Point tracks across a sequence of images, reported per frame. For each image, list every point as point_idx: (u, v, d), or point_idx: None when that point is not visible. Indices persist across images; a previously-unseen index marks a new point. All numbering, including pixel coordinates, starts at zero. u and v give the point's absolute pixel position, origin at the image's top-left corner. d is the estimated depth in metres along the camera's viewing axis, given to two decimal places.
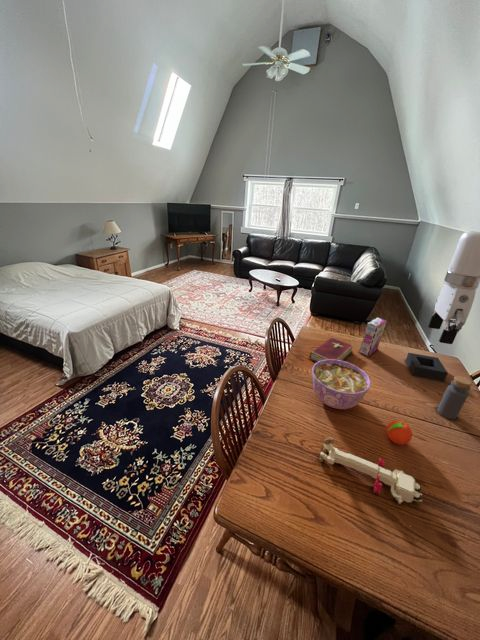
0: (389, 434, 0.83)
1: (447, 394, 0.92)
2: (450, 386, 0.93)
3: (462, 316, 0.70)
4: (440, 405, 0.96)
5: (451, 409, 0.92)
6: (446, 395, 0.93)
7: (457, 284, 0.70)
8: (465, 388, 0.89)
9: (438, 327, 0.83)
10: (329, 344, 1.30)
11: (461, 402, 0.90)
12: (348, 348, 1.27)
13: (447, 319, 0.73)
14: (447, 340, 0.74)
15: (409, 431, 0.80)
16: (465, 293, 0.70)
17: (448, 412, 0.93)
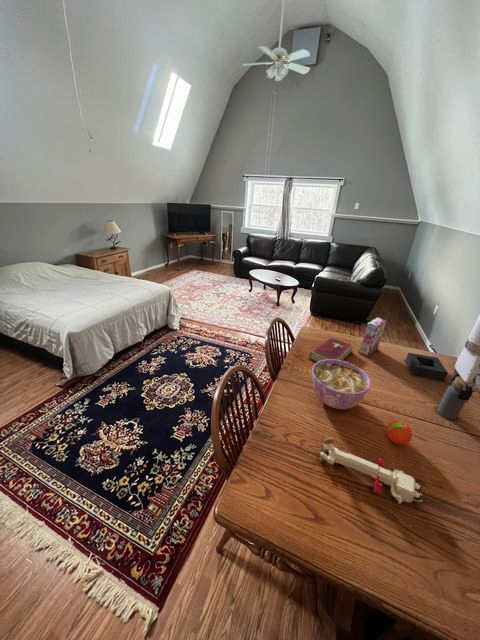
0: (389, 434, 0.83)
1: (448, 395, 0.92)
2: (451, 387, 0.92)
3: (479, 383, 0.82)
4: (440, 405, 0.95)
5: (451, 409, 0.92)
6: (447, 396, 0.93)
7: (477, 353, 0.82)
8: None
9: None
10: (329, 344, 1.30)
11: (461, 403, 0.90)
12: (348, 348, 1.27)
13: (467, 381, 0.85)
14: (464, 398, 0.87)
15: (409, 431, 0.80)
16: None
17: (448, 412, 0.93)
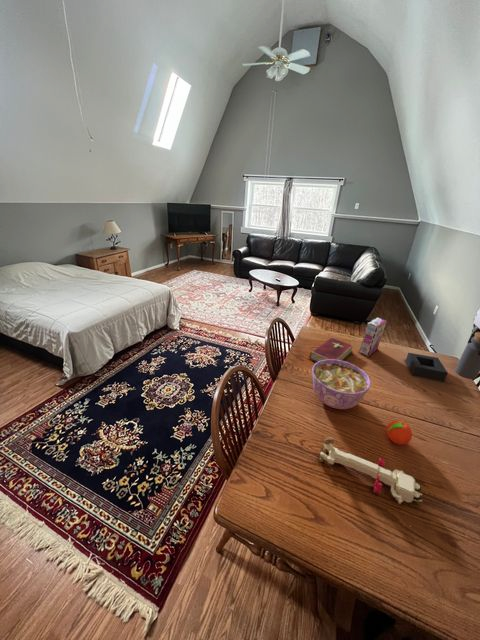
0: (389, 434, 0.83)
1: (467, 352, 0.86)
2: (470, 344, 0.86)
3: None
4: (458, 365, 0.89)
5: (471, 368, 0.86)
6: (466, 354, 0.86)
7: None
8: None
9: None
10: (329, 344, 1.30)
11: None
12: (348, 348, 1.27)
13: None
14: None
15: (409, 431, 0.80)
16: None
17: (468, 372, 0.87)
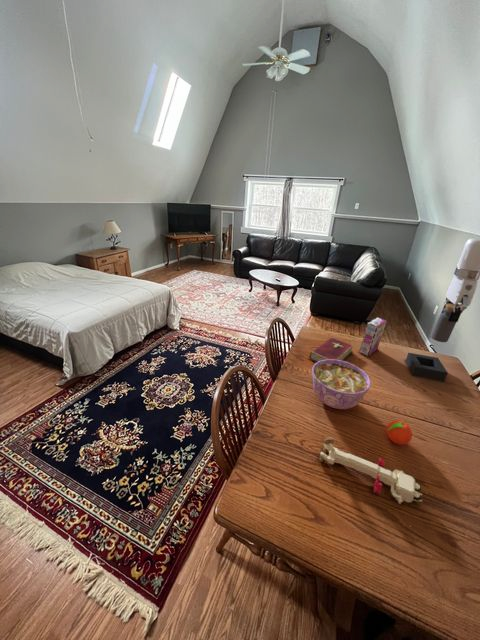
0: (389, 434, 0.83)
1: (440, 320, 1.07)
2: (442, 313, 1.07)
3: (466, 302, 0.97)
4: (434, 331, 1.10)
5: (443, 332, 1.07)
6: (439, 321, 1.07)
7: (464, 277, 0.96)
8: None
9: None
10: (329, 344, 1.30)
11: (451, 325, 1.05)
12: (348, 348, 1.27)
13: (456, 303, 0.99)
14: (453, 319, 1.02)
15: (409, 431, 0.80)
16: (469, 283, 0.96)
17: (440, 336, 1.08)
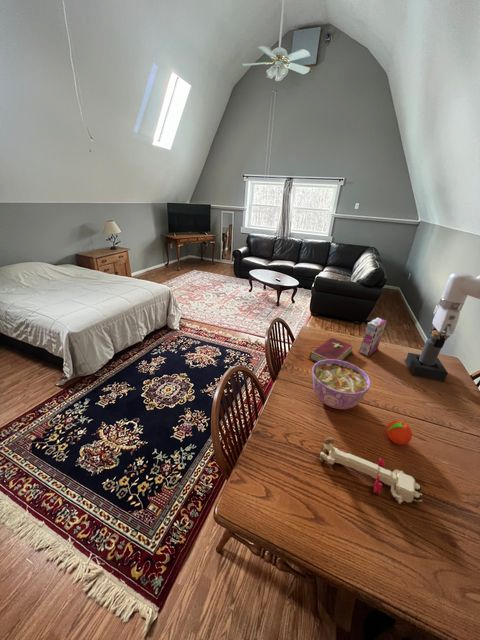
0: (389, 434, 0.83)
1: (426, 345, 1.15)
2: (429, 339, 1.15)
3: (449, 331, 1.05)
4: (421, 355, 1.18)
5: (429, 357, 1.15)
6: (426, 346, 1.15)
7: (447, 308, 1.04)
8: None
9: None
10: (329, 344, 1.30)
11: (437, 350, 1.13)
12: (348, 348, 1.27)
13: (441, 331, 1.07)
14: (438, 345, 1.10)
15: (409, 431, 0.80)
16: (452, 314, 1.04)
17: (427, 360, 1.16)
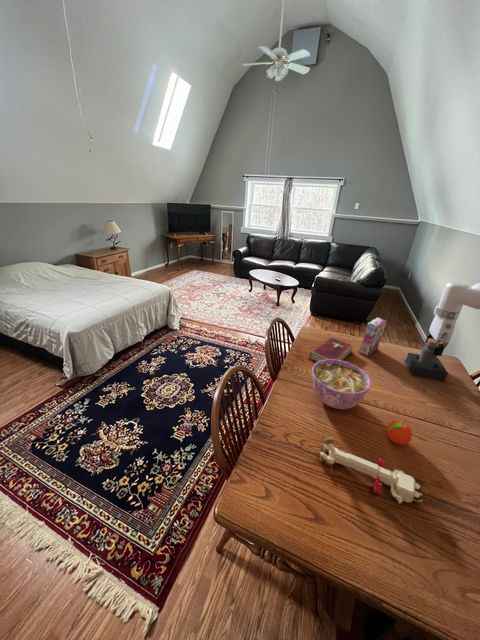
0: (389, 434, 0.83)
1: (423, 353, 1.17)
2: (425, 347, 1.17)
3: (447, 338, 1.05)
4: None
5: (426, 365, 1.17)
6: (422, 354, 1.17)
7: (443, 316, 1.06)
8: None
9: None
10: (329, 344, 1.30)
11: (433, 358, 1.15)
12: (348, 348, 1.27)
13: (437, 339, 1.09)
14: (437, 353, 1.10)
15: (409, 431, 0.80)
16: (449, 323, 1.05)
17: None
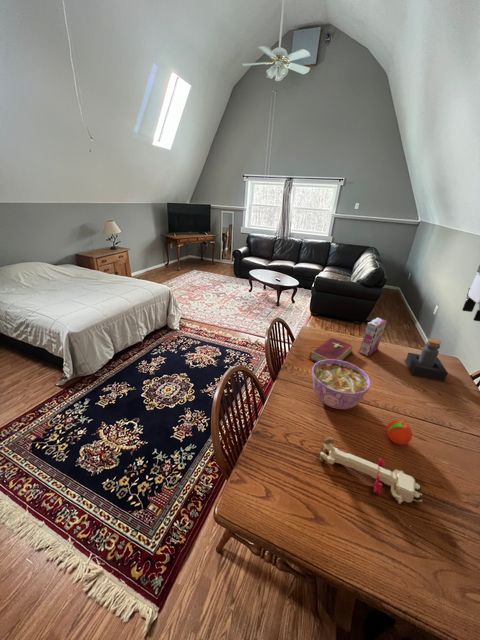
0: (389, 434, 0.83)
1: (423, 353, 1.17)
2: (425, 346, 1.17)
3: None
4: None
5: (426, 364, 1.17)
6: (422, 354, 1.17)
7: None
8: (436, 346, 1.13)
9: (471, 310, 1.04)
10: (329, 344, 1.30)
11: (433, 358, 1.15)
12: (348, 348, 1.27)
13: None
14: None
15: (409, 431, 0.80)
16: None
17: None
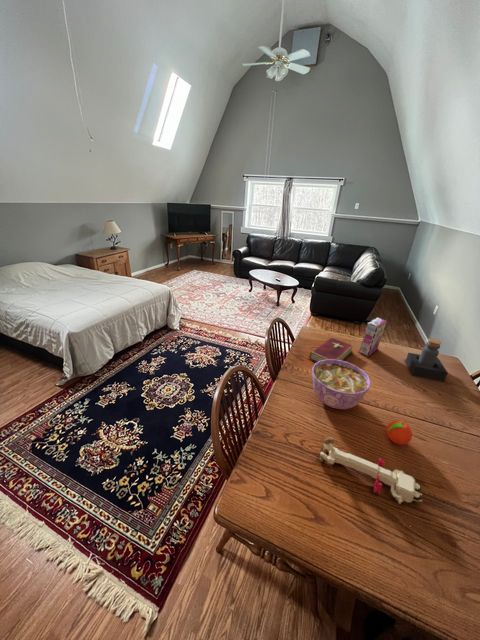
0: (389, 434, 0.83)
1: (423, 353, 1.17)
2: (425, 346, 1.17)
3: None
4: None
5: (426, 364, 1.17)
6: (422, 354, 1.17)
7: None
8: (436, 347, 1.13)
9: None
10: (329, 344, 1.30)
11: (433, 358, 1.15)
12: (348, 348, 1.27)
13: None
14: None
15: (409, 431, 0.80)
16: None
17: None
